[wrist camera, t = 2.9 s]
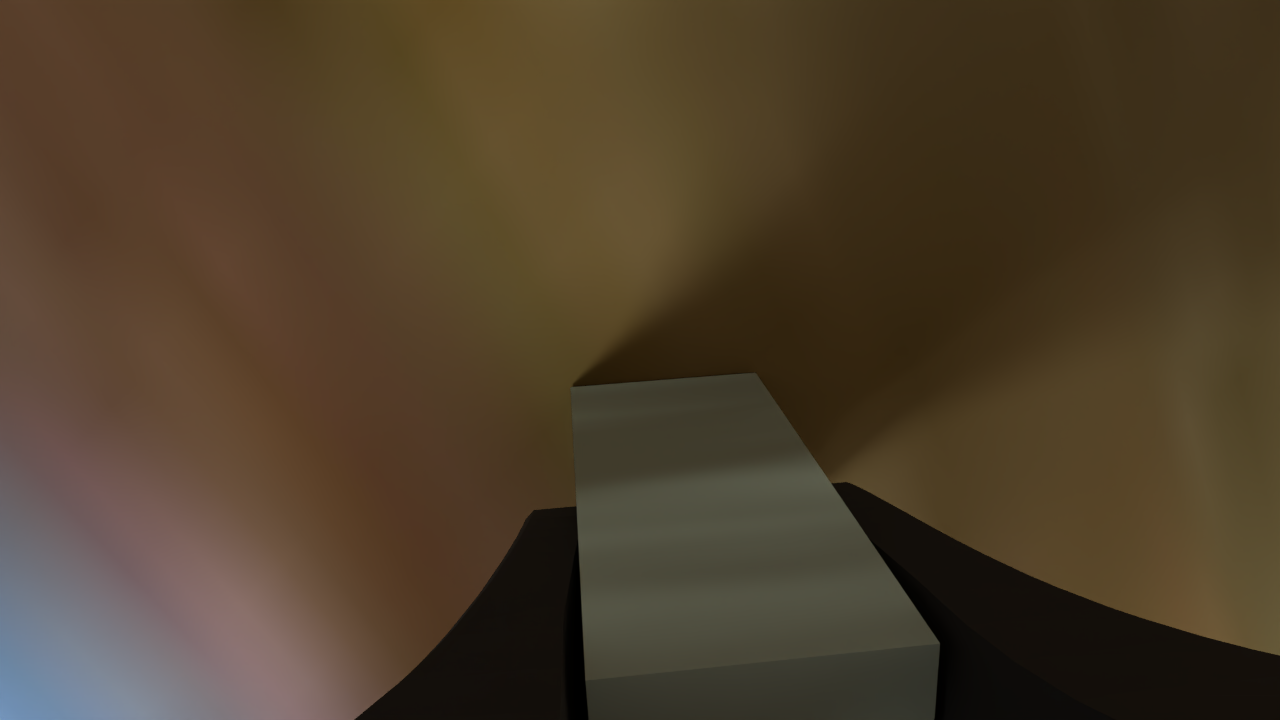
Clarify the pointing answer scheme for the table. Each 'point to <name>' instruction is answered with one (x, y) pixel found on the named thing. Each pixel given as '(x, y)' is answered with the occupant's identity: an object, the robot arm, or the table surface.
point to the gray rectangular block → (730, 567)
